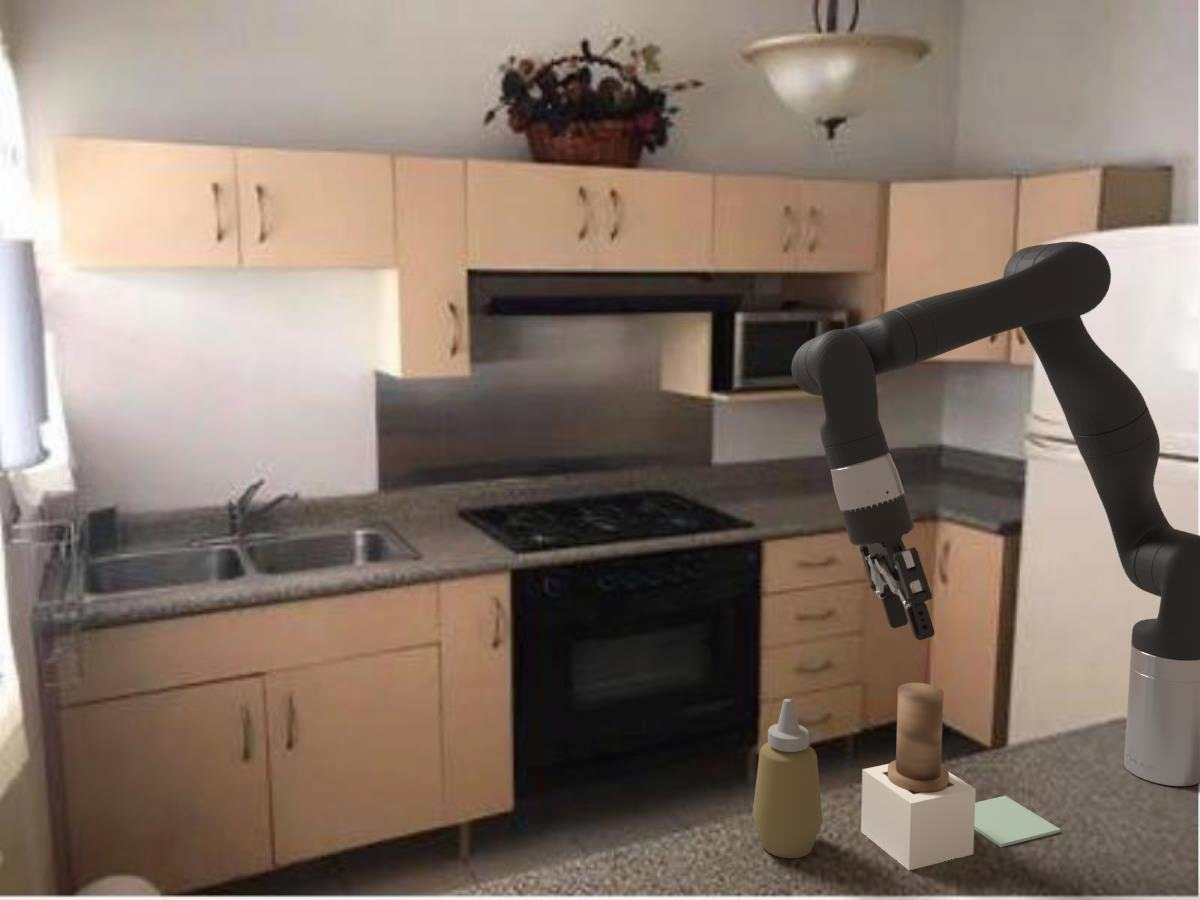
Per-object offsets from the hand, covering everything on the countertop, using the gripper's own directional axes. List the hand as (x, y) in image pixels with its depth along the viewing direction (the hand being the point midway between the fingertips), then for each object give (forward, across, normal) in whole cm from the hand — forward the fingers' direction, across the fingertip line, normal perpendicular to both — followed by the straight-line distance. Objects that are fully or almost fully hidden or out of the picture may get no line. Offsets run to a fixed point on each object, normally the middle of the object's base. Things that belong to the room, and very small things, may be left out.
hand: (911, 631), depth 114 cm
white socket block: (+24, +2, +6) cm, 25 cm away
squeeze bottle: (+21, +3, +21) cm, 30 cm away
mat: (+27, +6, -6) cm, 29 cm away
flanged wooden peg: (+18, +1, +4) cm, 19 cm away
